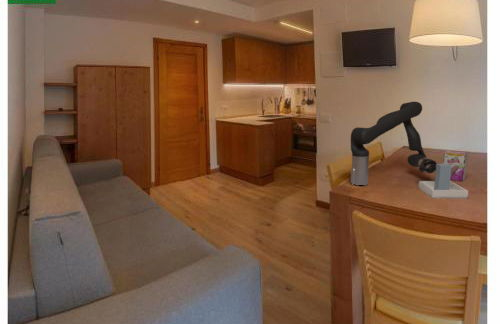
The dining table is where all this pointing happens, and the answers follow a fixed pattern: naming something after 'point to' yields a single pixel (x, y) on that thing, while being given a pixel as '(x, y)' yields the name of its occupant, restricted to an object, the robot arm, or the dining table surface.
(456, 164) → the candy bar box
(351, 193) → the dining table surface
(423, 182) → the tray
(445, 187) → the slate block
